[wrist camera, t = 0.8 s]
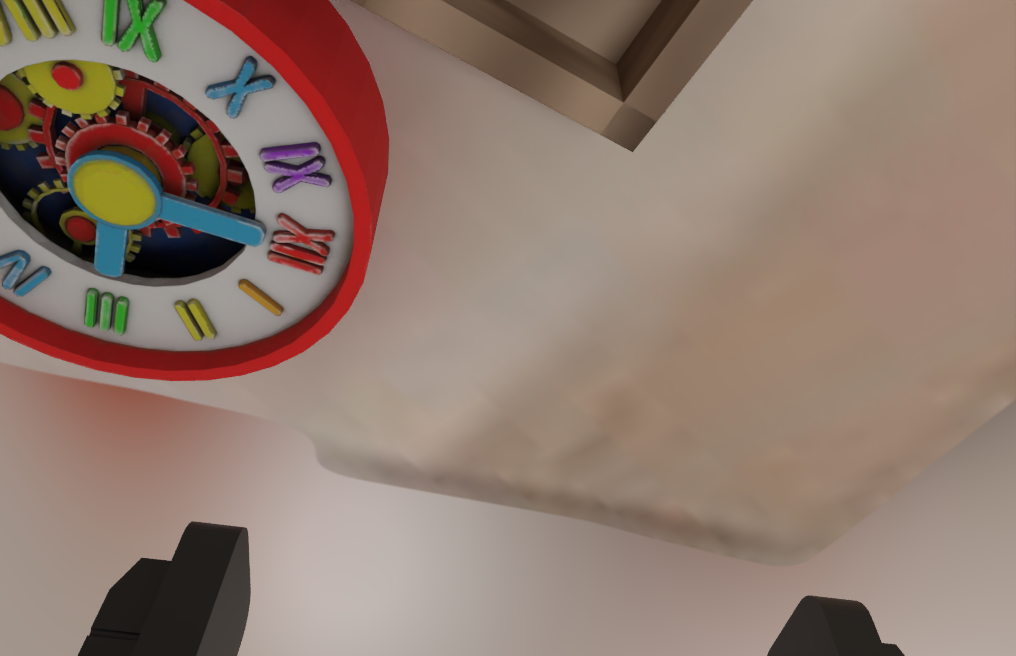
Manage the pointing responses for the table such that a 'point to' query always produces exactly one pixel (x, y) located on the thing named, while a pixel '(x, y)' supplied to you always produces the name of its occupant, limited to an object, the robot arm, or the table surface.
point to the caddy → (578, 50)
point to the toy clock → (183, 181)
